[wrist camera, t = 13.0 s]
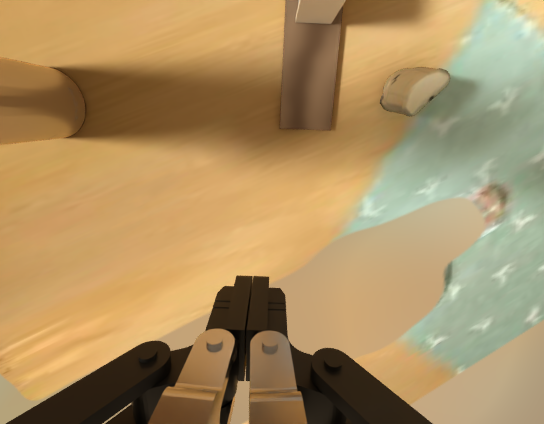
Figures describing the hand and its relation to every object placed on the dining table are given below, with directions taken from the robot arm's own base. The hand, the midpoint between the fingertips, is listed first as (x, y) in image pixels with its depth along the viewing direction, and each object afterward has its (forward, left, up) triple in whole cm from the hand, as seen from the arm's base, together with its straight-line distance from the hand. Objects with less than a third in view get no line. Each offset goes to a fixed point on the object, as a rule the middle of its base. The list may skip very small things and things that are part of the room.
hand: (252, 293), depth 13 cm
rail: (+5, +18, -31) cm, 36 cm away
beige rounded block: (+17, +11, -31) cm, 37 cm away
